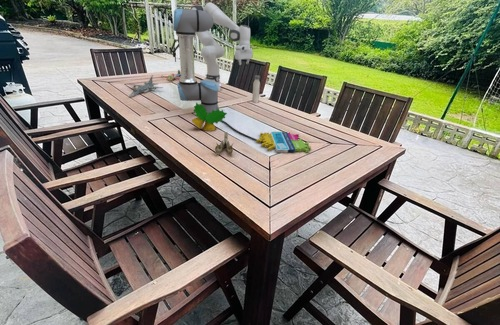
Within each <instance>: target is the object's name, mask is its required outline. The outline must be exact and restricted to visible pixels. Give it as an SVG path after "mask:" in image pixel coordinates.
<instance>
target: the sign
mask: <svg viewBox="0 0 500 325" xmlns="http://www.w3.org/2000/svg"><path fill="white" fill-rule="evenodd" d="M299 136H300V135H299V134H298V133H296V134H294V133H291V132H287V131H270V132H264V133H263V132H260V133H259V139H258V138H256V139H257V141H255V142H256V143H257V144H261V148H263V147H264V148H265V149H267V151H268V152H271V151H272V150H273V149H275V152H276V153H283V154H285V153H287V154H288V153H290V154H293V153H296V152H298V153H301V152H305V153H310V151H311V150H312V149H311V148H312V146H309V142H304V141H303V139H302V138H299ZM260 142H263V143H260Z"/></svg>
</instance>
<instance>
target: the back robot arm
mask: <svg viewBox="0 0 500 325" xmlns="http://www.w3.org/2000/svg"><path fill="white" fill-rule="evenodd" d="M190 10H201V11H205V12H207V13H209V14H210V15H211V16H212V17H213V20H214V24H215V25H217V26H221V27H226V28H228V29H229V30H230V31H229V35H228V36H229V39H230V40H231V42H234V43H239V44H237V45H236V46H235V47H234V49H235V51H234V59H235V60H237V62H238V65H239V66H242V60H246V62H245V64H246V65H249V62H250V59H253V58H254V51H253V47H252V46H251V27H250V26H249V25H246V24H241V25H238V24H237V23H236V22H234V20H232V18H230V17H229V16H228V15H226V13H224V11H222V9H221V8H219V7H218V6H217V5H216V4H214V3H213V2H207V3H206V4H205V5H204V6H203V5H197V4H196V5H192V6H191V8H190ZM195 36H197V38H198V41H199V42H200V43H201V45H202V46H203V47H201V49H200V55H201V57H202V58H203V59H204V61H205V64H206V72H207V73H206V74H205V78H204V79H202V78H201V77H199V76H196V75H195V79H199V80H200V81H201V80H207V81H212V82H215V83H216V84H217V86H218V92H220V91H222V87H221V80H220V79H221V75H220V65H219V63H217V60H216V59H220V58H223V57H224V56H225V53H226V51H225V50H226V49H225V48H224V46H222V45H221V44H219V43H218V42H217V40H215V39H214V37H213V36H212V34H211V32H210V30H207V31H204V32H195Z"/></svg>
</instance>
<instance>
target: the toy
mask: <svg viewBox="0 0 500 325" xmlns="http://www.w3.org/2000/svg"><path fill="white" fill-rule="evenodd" d="M160 78H161V79H162V78H163V79H164V78H165V79H166V81H169V82H171V81H173V80H178V81H179V80H180V79H181V69H178V70H177V74H176V73H171V74H169V75H168V76H163V75H160Z"/></svg>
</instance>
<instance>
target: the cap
mask: <svg viewBox="0 0 500 325" xmlns="http://www.w3.org/2000/svg"><path fill="white" fill-rule="evenodd" d="M253 79H254V80H255V79H259V80H260V79H261V76H260V75H254V78H253Z"/></svg>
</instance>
